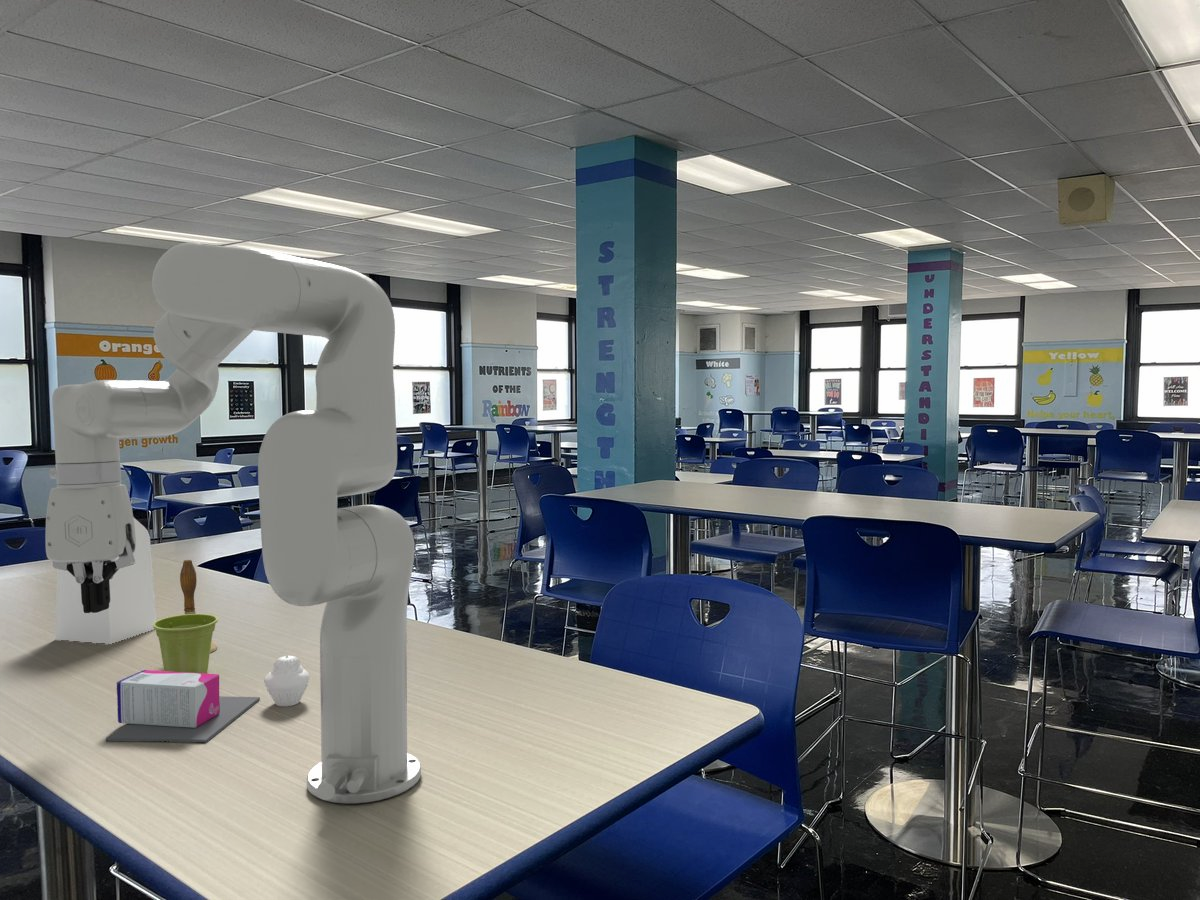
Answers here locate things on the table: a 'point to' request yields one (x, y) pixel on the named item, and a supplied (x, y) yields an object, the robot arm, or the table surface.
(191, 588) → the hand bell
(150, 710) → the supplement box
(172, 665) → the plant pot
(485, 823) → the table surface
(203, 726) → the mat
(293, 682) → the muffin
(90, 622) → the milk
